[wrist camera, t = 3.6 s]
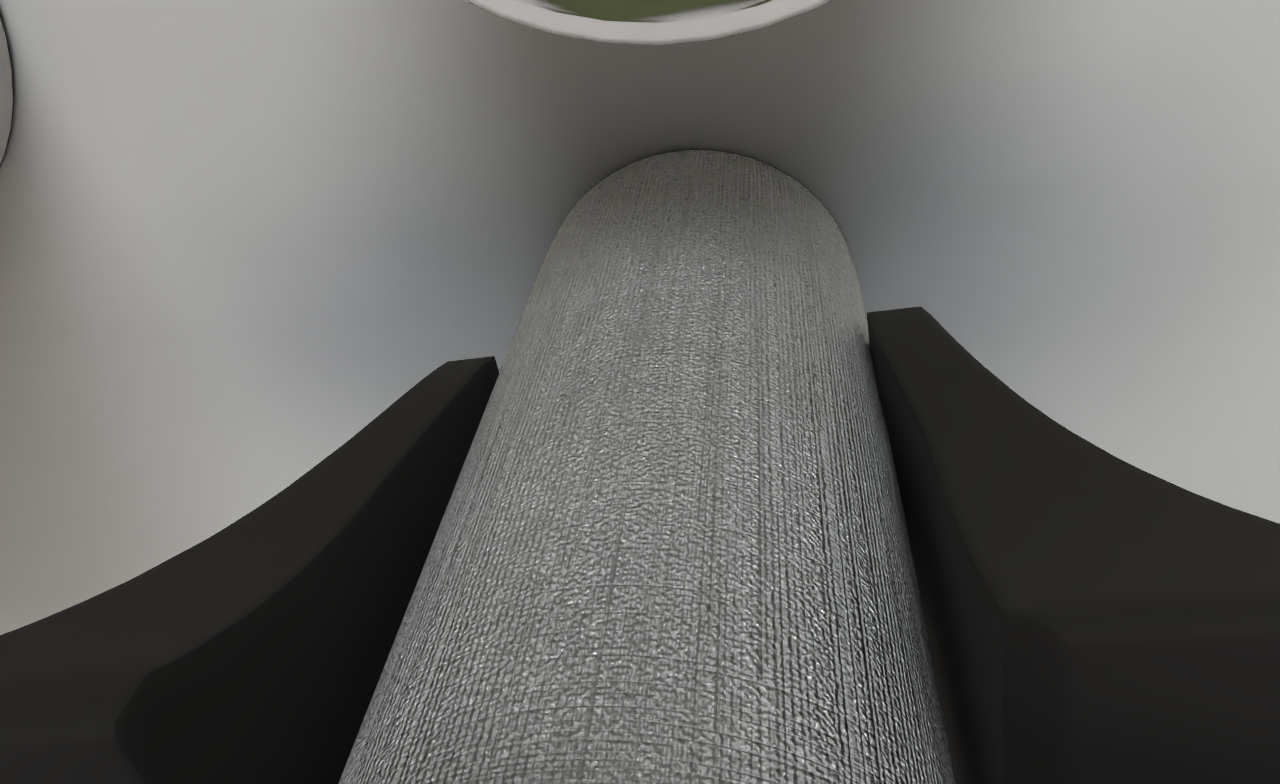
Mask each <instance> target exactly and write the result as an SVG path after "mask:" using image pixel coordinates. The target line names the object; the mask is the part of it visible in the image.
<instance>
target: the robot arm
mask: <svg viewBox="0 0 1280 784" xmlns="http://www.w3.org/2000/svg"><path fill="white" fill-rule="evenodd" d="M867 320H868V333H869V346H870V352H871V357H872V362H873V367H874V373H875V378H876V383H877V388H878V393H879V397H880V401H881V405H882V409H883V413H884V417H885V421H886V425H887V430H888V435H889V439H890V444H891V449H892V453H893V458H894V464H895V469H896V474H897V479H898V484H899V489H900V494H901V499H902V505H903V510H904V515H905V520H906V525H907V530H908V535H909V540H910V546H911V551H912V556H913V561H914V566H915V571H916V576H917V582H918V587H919V592H920V597H921V602H922V607H923V612H924V617H925V623H926V628H927V633H928V638H929V643H930V648H931V653H932V659H933V664H934V669H935V674H936V679H937V684H938V689H939V694H940V700H941V705H942V710H943V715H944V720H945V725H946V730H947V736H948V741H949V746H950V751H951V756H952V761H953V766H954V771H955V777H956V782H957V784H1280V524H1278V523H1275V522H1272V521H1269V520H1266V519H1263V518H1260V517H1257V516H1254V515H1251V514H1249V513H1246V512H1243V511H1240V510H1237V509H1234V508H1231V507H1228V506H1226V505H1223V504H1220V503H1218V502H1215V501H1213V500H1210V499H1207V498H1205V497H1202V496H1200V495H1197V494H1194V493H1192V492H1190V491H1187V490H1185V489H1183V488H1181V487H1178V486H1176V485H1174V484H1172V483H1169V482H1167V481H1165V480H1163V479H1160V478H1158V477H1156V476H1154V475H1151V474H1149V473H1147V472H1145V471H1142V470H1140V469H1138V468H1136V467H1134V466H1132V465H1130V464H1128V463H1126V462H1124V461H1122V460H1120V459H1118V458H1117V457H1115V456H1113V455H1111V454H1109V453H1107V452H1106V451H1104V450H1102V449H1100V448H1099V447H1097V446H1095V445H1093V444H1092V443H1090V442H1088V441H1086V440H1085V439H1083V438H1081V437H1079V436H1078V435H1076V434H1074V433H1072V432H1071V431H1069V430H1068V429H1066V428H1064V427H1063V426H1061V425H1060V424H1058V423H1057V422H1055V421H1054V420H1052V419H1051V418H1049V417H1048V416H1046V415H1045V414H1043V413H1042V412H1041V411H1039V410H1038V409H1036V408H1035V407H1034V406H1032V405H1031V404H1029V403H1028V402H1027V401H1025V400H1024V399H1023V398H1021V397H1020V396H1019V395H1018V394H1016V393H1015V392H1014V391H1013V390H1011V389H1010V388H1009V387H1008V386H1007V385H1005V384H1004V383H1003V382H1002V381H1001V380H999V379H998V378H997V377H996V376H995V375H994V374H992V373H991V372H990V371H989V370H988V369H986V368H985V367H984V366H983V365H982V364H981V363H980V362H978V361H977V360H976V359H975V358H974V357H973V356H972V355H971V354H970V353H969V352H968V351H967V350H965V349H964V348H963V347H962V346H961V345H960V344H959V343H958V342H957V341H956V340H955V339H954V338H953V337H952V336H951V335H950V334H949V333H948V332H947V331H946V330H945V329H944V328H943V327H942V326H941V325H940V324H939V323H938V322H937V321H936V320H935V319H934V318H933V316H932V315H931V314H929V313H928V312H927V311H926V310H924V309H923V308H922V307H913V308H904V309H895V310H887V311H878V312H870V313H867ZM498 376H499V371H498V367H497V364H496V361H495V357H494V356H492V357H483V358H475V359H466V360H458V361H449V362H446V363H445V364H443V365H442V366H440V367H439V368H437V369H436V370H434V371H433V372H432V373H430V374H429V375H428V376H426V377H425V378H424V379H422V380H421V381H420V382H419V383H418V384H416V385H415V386H414V387H413V388H411V389H410V390H409V391H408V392H407V393H405V394H404V395H403V396H402V397H400V398H399V399H398V400H397V401H396V402H395V403H393V404H392V405H391V406H390V407H389V408H387V409H386V410H385V411H384V412H383V413H381V414H380V415H379V416H378V417H376V418H375V419H374V420H373V421H372V422H370V423H369V424H368V425H367V426H366V427H364V428H363V429H362V430H361V431H360V432H358V433H357V434H356V435H355V436H354V437H352V438H351V439H350V440H349V441H347V442H346V443H345V444H344V445H342V446H341V447H340V448H338V449H337V450H336V451H335V452H333V453H332V454H331V455H329V456H328V457H327V458H325V459H324V460H323V461H321V462H320V463H319V464H317V465H316V466H315V467H313V468H312V469H311V470H310V471H308V472H307V473H306V474H304V475H303V476H302V477H300V478H299V479H298V480H296V481H295V482H294V483H292V484H291V485H290V486H289V487H287V488H286V489H284V490H283V491H281V492H280V493H279V494H277V495H276V496H274V497H273V498H271V499H270V500H268V501H267V502H265V503H264V504H262V505H261V506H259V507H258V508H256V509H255V510H253V511H252V512H250V513H249V514H247V515H245V516H244V517H242V518H241V519H239V520H237V521H236V522H234V523H233V524H231V525H229V526H228V527H226V528H225V529H223V530H221V531H220V532H218V533H216V534H215V535H213V536H211V537H210V538H208V539H206V540H205V541H203V542H201V543H199V544H197V545H195V546H193V547H192V548H190V549H188V550H186V551H184V552H182V553H180V554H178V555H176V556H175V557H173V558H171V559H169V560H167V561H165V562H163V563H161V564H160V565H158V566H156V567H154V568H152V569H150V570H148V571H146V572H145V573H143V574H141V575H139V576H137V577H135V578H133V579H131V580H129V581H127V582H125V583H123V584H121V585H119V586H116V587H114V588H112V589H110V590H108V591H106V592H103V593H101V594H99V595H97V596H95V597H93V598H90V599H88V600H86V601H84V602H81V603H79V604H77V605H74V606H72V607H70V608H67V609H65V610H63V611H60V612H58V613H56V614H53V615H51V616H49V617H46V618H44V619H41V620H39V621H36V622H34V623H31V624H29V625H26V626H24V627H21V628H19V629H16V630H14V631H11V632H8V633H5V634H2V635H0V784H338V783H339V781H340V778H341V776H342V773H343V771H344V768H345V765H346V763H347V760H348V758H349V755H350V753H351V750H352V748H353V745H354V742H355V740H356V737H357V735H358V732H359V730H360V727H361V725H362V722H363V720H364V717H365V714H366V712H367V709H368V707H369V704H370V702H371V699H372V697H373V694H374V692H375V689H376V686H377V684H378V681H379V679H380V676H381V674H382V671H383V669H384V666H385V664H386V661H387V658H388V656H389V653H390V651H391V648H392V646H393V643H394V641H395V638H396V635H397V633H398V630H399V628H400V625H401V623H402V620H403V618H404V615H405V613H406V610H407V607H408V605H409V602H410V600H411V597H412V595H413V592H414V590H415V587H416V585H417V582H418V579H419V577H420V574H421V572H422V569H423V567H424V564H425V562H426V559H427V556H428V554H429V551H430V549H431V546H432V544H433V541H434V539H435V536H436V534H437V531H438V528H439V526H440V523H441V521H442V518H443V516H444V513H445V511H446V508H447V506H448V503H449V500H450V498H451V495H452V493H453V490H454V488H455V485H456V483H457V480H458V478H459V475H460V472H461V470H462V467H463V465H464V462H465V460H466V457H467V455H468V452H469V449H470V447H471V444H472V442H473V439H474V437H475V434H476V432H477V429H478V427H479V424H480V421H481V419H482V416H483V414H484V411H485V409H486V406H487V404H488V401H489V399H490V396H491V393H492V391H493V388H494V386H495V383H496V381H497V378H498Z"/></svg>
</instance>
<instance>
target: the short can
mask: <svg viewBox="0 0 1280 784" xmlns="http://www.w3.org/2000/svg"><path fill="white" fill-rule="evenodd" d="M464 1H466V2H468V3H470V4H472V5H475V6H477V7H479V8H481V9H483V10H485V11H488V12H490V13H492V14H494V15H496V16H498V17H501V18H503V19H506V20H509V21H513V22H516V23H519V24H522V25H525V26H529V27H532V28H535V29H538V30H541V31H545V32H548V33H551V34H554V35H560V36H566V37H572V38H577V39H583V40H589V41H595V42H601V43H608V44H634V45H668V44H678V43H689V42H699V41H710V40H715V39H719V38H723V37H728V36H732V35H736V34H741V33H745V32H749V31H753V30H758V29H762V28H766V27H768V26H771V25H774V24H776V23H779V22H781V21H784V20H787V19H789V18H792V17H795V16H797V15H800V14H803V13H805V12H808V11H811V10H813V9H816V8H818V7H820V6H822V5H824V4H826V3H828V2H829V1H831V0H464Z"/></svg>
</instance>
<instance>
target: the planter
mask: <svg viewBox="0 0 1280 784" xmlns="http://www.w3.org/2000/svg"><path fill="white" fill-rule="evenodd" d="M338 784H957V782H956V777H955V771H954V766H953V761H952V756H951V751H950V746H949V741H948V736H947V730H946V725H945V720H944V715H943V710H942V705H941V700H940V694H939V689H938V684H937V679H936V674H935V669H934V664H933V659H932V653H931V648H930V643H929V638H928V633H927V628H926V623H925V617H924V612H923V607H922V602H921V597H920V592H919V587H918V582H917V576H916V571H915V566H914V561H913V556H912V551H911V546H910V540H909V535H908V530H907V525H906V520H905V515H904V510H903V505H902V499H901V494H900V489H899V484H898V479H897V474H896V469H895V464H894V458H893V453H892V449H891V444H890V439H889V435H888V430H887V425H886V421H885V417H884V413H883V409H882V405H881V401H880V397H879V393H878V388H877V383H876V378H875V373H874V367H873V362H872V357H871V352H870V346H869V333H868V325H867V320H866V315H865V310H864V304H863V299H862V294H861V289H860V284H859V280H858V276H857V272H856V269H855V266H854V263H853V260H852V257H851V254H850V251H849V248H848V246H847V243H846V241H845V239H844V236H843V234H842V233H841V231H840V229H839V227H838V225H837V224H836V222H835V220H834V219H833V217H832V216H831V214H830V213H829V212H828V211H827V209H826V208H825V207H824V206H823V205H822V204H821V202H820V201H819V200H818V199H817V198H816V197H815V196H814V195H813V194H812V193H810V192H809V191H808V190H807V189H806V188H805V187H804V186H802V185H801V184H800V183H798V182H797V181H796V180H794V179H793V178H791V177H790V176H788V175H786V174H785V173H783V172H781V171H779V170H777V169H775V168H774V167H771V166H769V165H767V164H765V163H762V162H760V161H757V160H754V159H752V158H749V157H745V156H741V155H737V154H732V153H726V152H719V151H710V150H687V151H677V152H670V153H665V154H660V155H656V156H652V157H648V158H645V159H642V160H639V161H637V162H634V163H632V164H630V165H628V166H625V167H623V168H621V169H620V170H618V171H616V172H614V173H612V174H611V175H609V176H608V177H606V178H605V179H603V180H601V181H600V182H599V183H598V184H596V185H595V186H594V187H593V188H591V189H590V190H589V191H588V192H587V193H586V194H585V195H584V196H583V197H582V198H581V199H580V200H579V201H578V203H577V204H576V205H575V206H574V207H573V208H572V210H571V211H570V212H569V214H568V215H567V217H566V218H565V220H564V222H563V223H562V225H561V227H560V228H559V230H558V232H557V234H556V236H555V238H554V239H553V241H552V243H551V245H550V247H549V249H548V251H547V254H546V256H545V259H544V261H543V263H542V266H541V269H540V271H539V274H538V276H537V279H536V281H535V284H534V286H533V289H532V292H531V294H530V297H529V299H528V302H527V304H526V307H525V309H524V312H523V314H522V317H521V320H520V322H519V325H518V327H517V330H516V332H515V335H514V337H513V340H512V342H511V345H510V348H509V350H508V353H507V355H506V358H505V360H504V363H503V365H502V368H501V371H500V373H499V376H498V378H497V381H496V383H495V386H494V388H493V391H492V393H491V396H490V399H489V401H488V404H487V406H486V409H485V411H484V414H483V416H482V419H481V421H480V424H479V427H478V429H477V432H476V434H475V437H474V439H473V442H472V444H471V447H470V449H469V452H468V455H467V457H466V460H465V462H464V465H463V467H462V470H461V472H460V475H459V478H458V480H457V483H456V485H455V488H454V490H453V493H452V495H451V498H450V500H449V503H448V506H447V508H446V511H445V513H444V516H443V518H442V521H441V523H440V526H439V528H438V531H437V534H436V536H435V539H434V541H433V544H432V546H431V549H430V551H429V554H428V556H427V559H426V562H425V564H424V567H423V569H422V572H421V574H420V577H419V579H418V582H417V585H416V587H415V590H414V592H413V595H412V597H411V600H410V602H409V605H408V607H407V610H406V613H405V615H404V618H403V620H402V623H401V625H400V628H399V630H398V633H397V635H396V638H395V641H394V643H393V646H392V648H391V651H390V653H389V656H388V658H387V661H386V664H385V666H384V669H383V671H382V674H381V676H380V679H379V681H378V684H377V686H376V689H375V692H374V694H373V697H372V699H371V702H370V704H369V707H368V709H367V712H366V714H365V717H364V720H363V722H362V725H361V727H360V730H359V732H358V735H357V737H356V740H355V742H354V745H353V748H352V750H351V753H350V755H349V758H348V760H347V763H346V765H345V768H344V771H343V773H342V776H341V778H340V781H339V783H338Z"/></svg>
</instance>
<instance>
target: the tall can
mask: <svg viewBox="0 0 1280 784" xmlns="http://www.w3.org/2000/svg"><path fill="white" fill-rule="evenodd" d="M12 107H13V89H12V69H11V63H10V58H9V52H8V47H7V41H6V35H5V32H4V29H3V25H2V22H1V19H0V163H1V161H2V159H3V156H4V153H5V149H6V145H7V141H8V137H9V133H10V129H11V118H12Z"/></svg>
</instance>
